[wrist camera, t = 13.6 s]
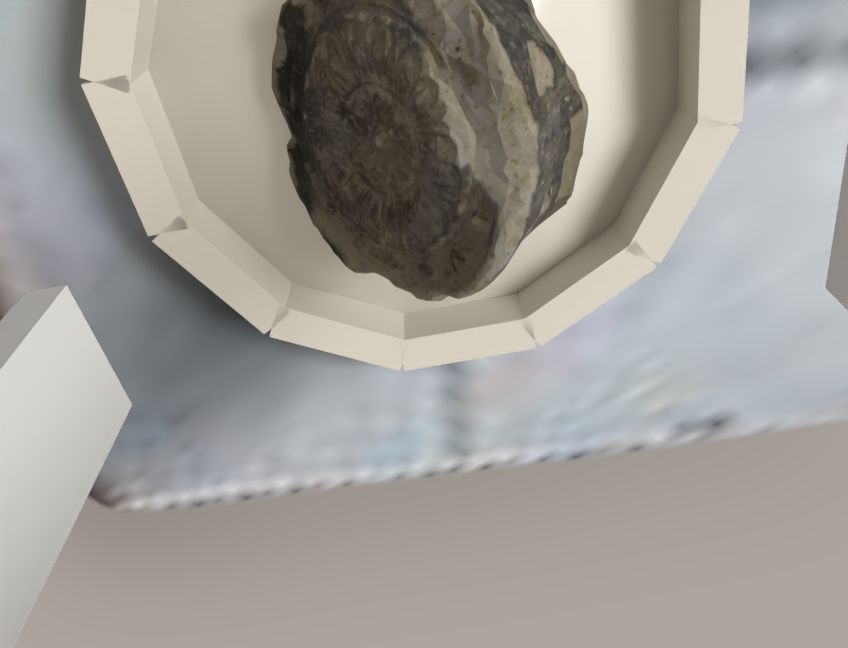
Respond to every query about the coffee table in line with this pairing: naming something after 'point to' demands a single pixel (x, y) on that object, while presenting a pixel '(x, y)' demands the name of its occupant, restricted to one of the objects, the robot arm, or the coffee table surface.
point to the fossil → (427, 133)
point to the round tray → (372, 293)
